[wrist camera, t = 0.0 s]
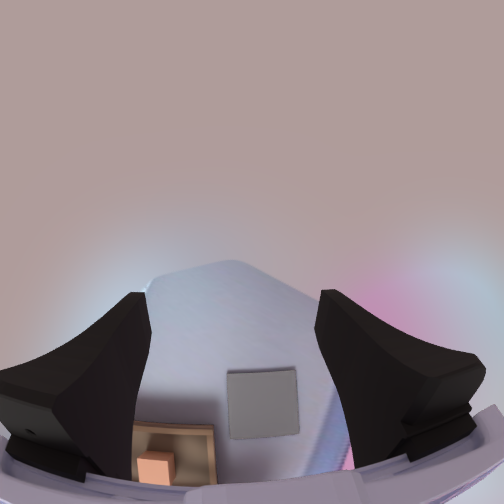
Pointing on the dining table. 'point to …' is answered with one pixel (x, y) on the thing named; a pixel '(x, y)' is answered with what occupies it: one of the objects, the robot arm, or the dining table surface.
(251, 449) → the dining table surface
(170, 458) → the terracotta block
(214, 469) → the walnut box
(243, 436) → the slate mat
